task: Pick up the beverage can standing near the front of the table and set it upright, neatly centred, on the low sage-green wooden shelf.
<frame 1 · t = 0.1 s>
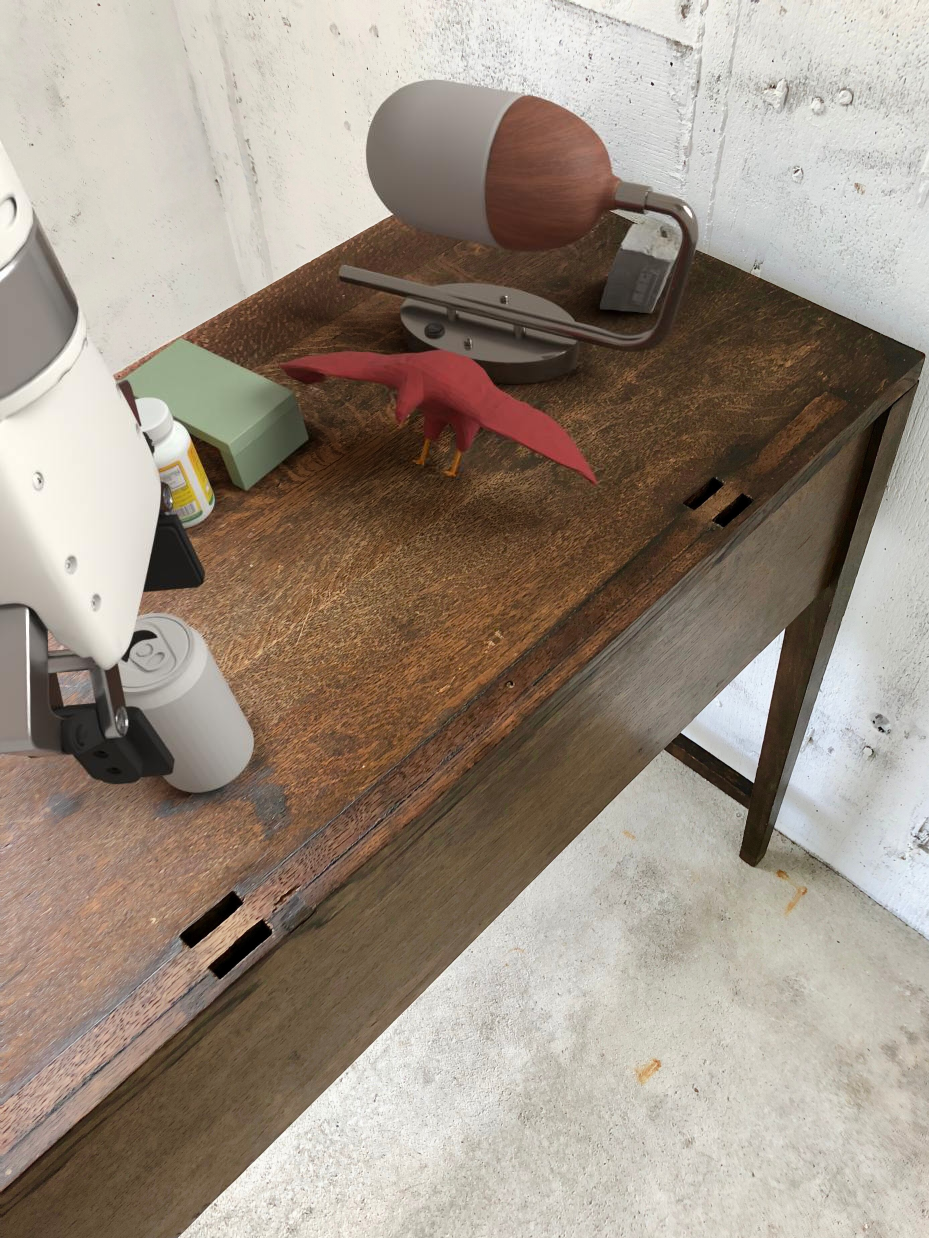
hand: (155, 671, 40), 22 cm above the table, tool pointing down, fingers open, 9 cm apart
decorative bird sculpture: (455, 456, 80), on the table
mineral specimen: (640, 305, 90), on the table
supplement bottle: (185, 509, 78), on the table
shelf: (221, 435, 83), on the table
light fixture: (506, 348, 88), on the table
beverage can: (211, 757, 64), on the table
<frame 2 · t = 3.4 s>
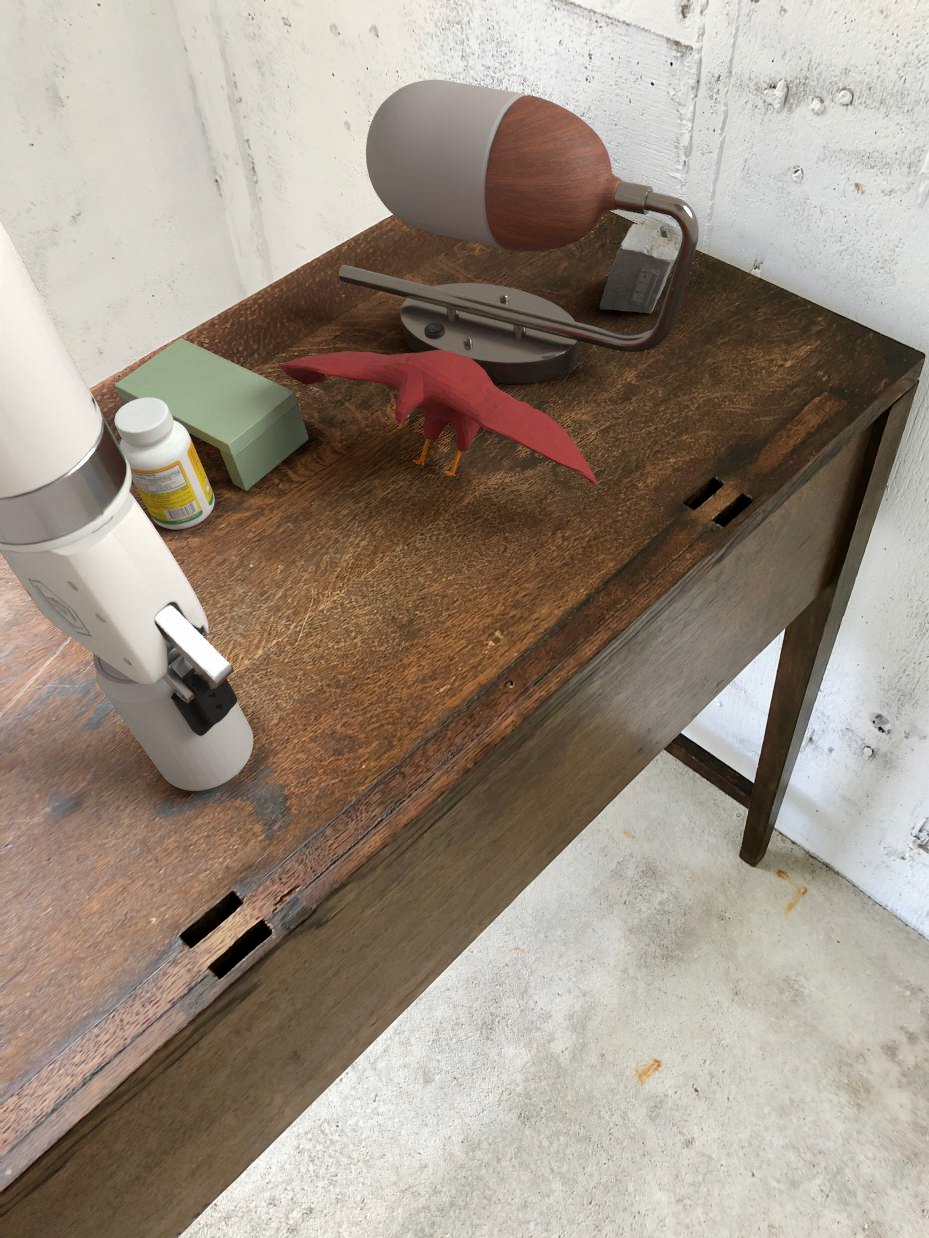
hand: (175, 688, 59), 7 cm above the table, tool pointing down, fingers closed on beverage can, 6 cm apart
beverage can: (211, 757, 64), on the table, touching gripper
everything else where it was.
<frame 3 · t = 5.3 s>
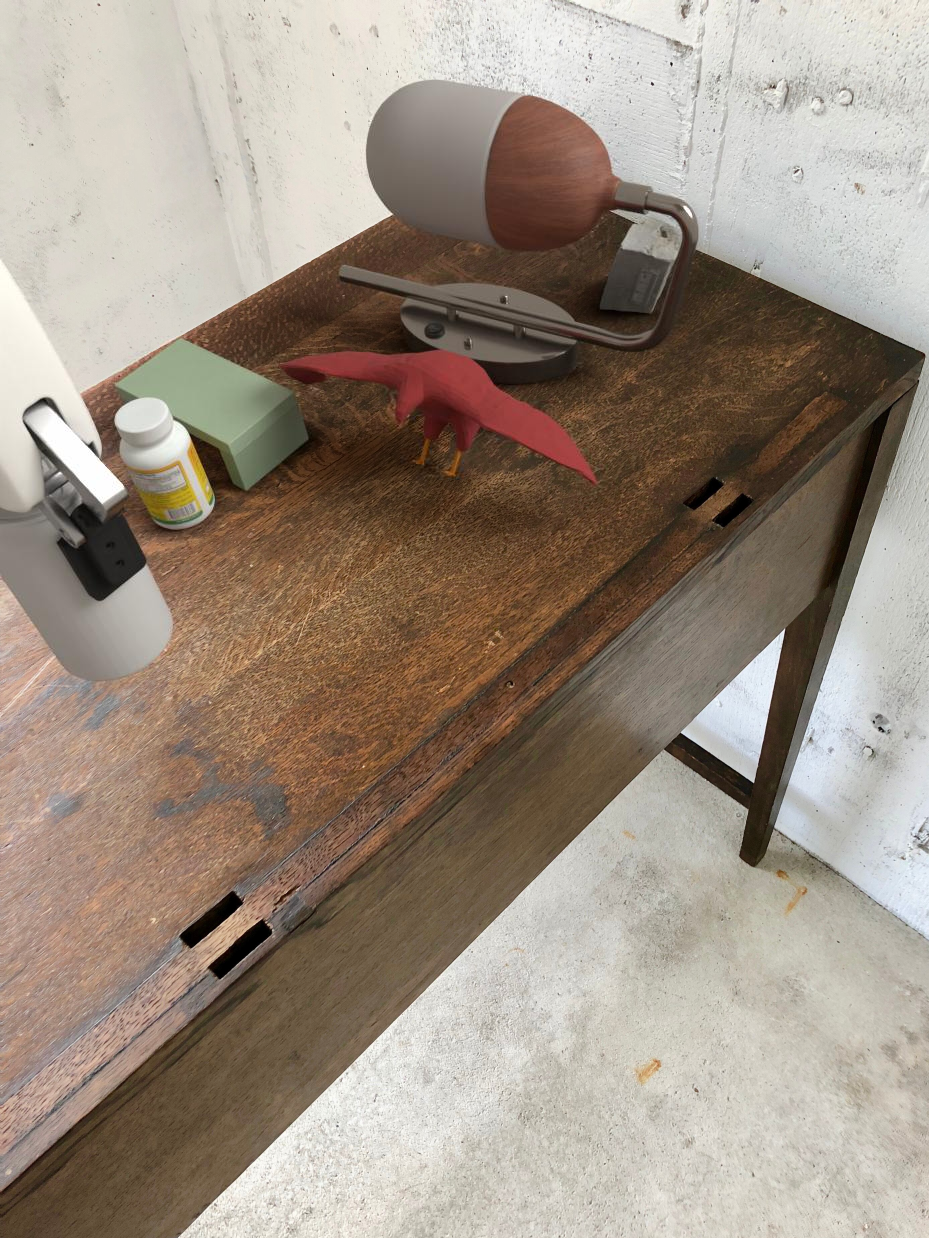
hand: (72, 548, 48), 20 cm above the table, tool pointing down, fingers closed on beverage can, 6 cm apart
beverage can: (122, 646, 54), point 13 cm above the table, touching gripper
everything else where it was.
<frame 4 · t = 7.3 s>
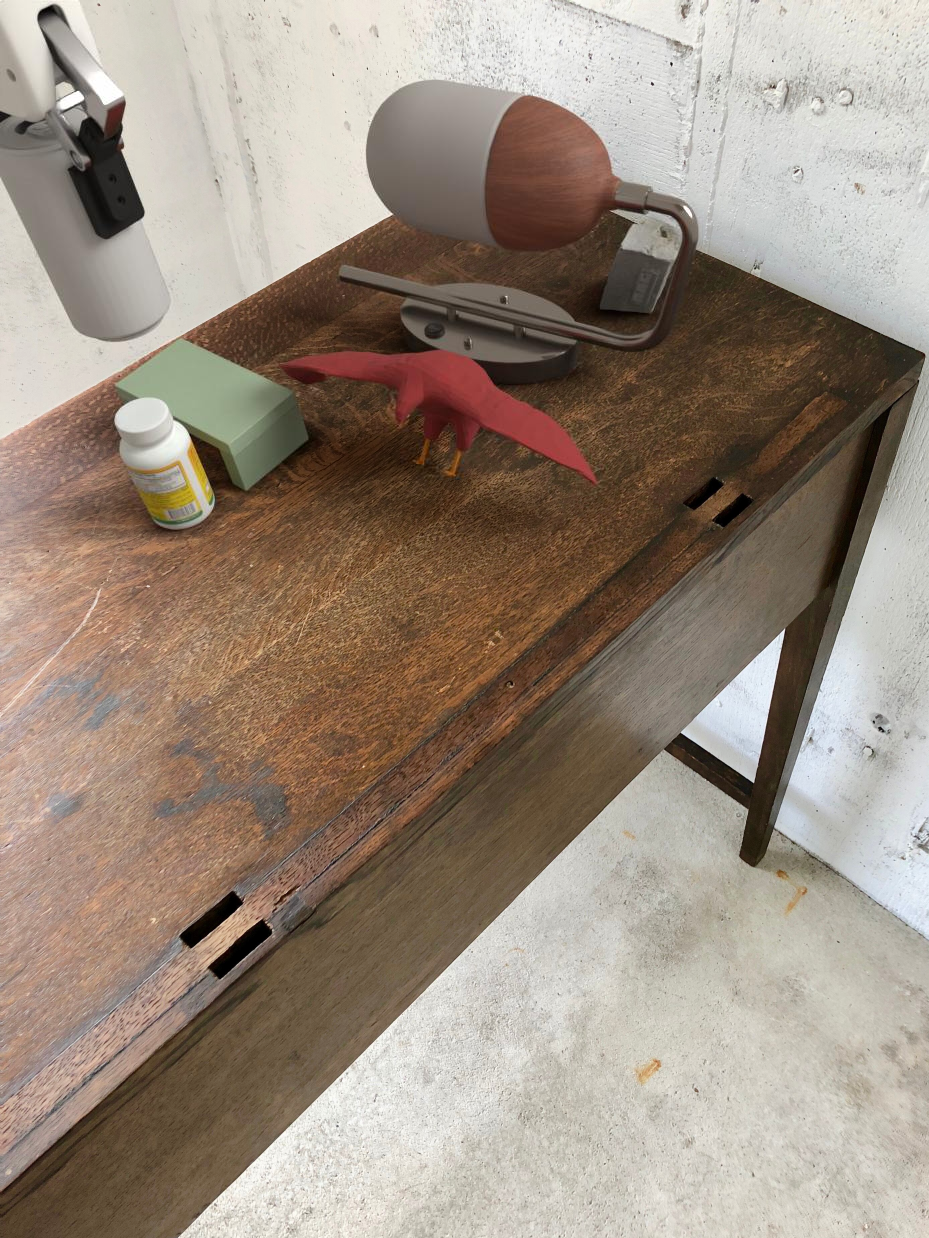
hand: (82, 207, 56), 26 cm above the table, tool pointing down, fingers closed on beverage can, 6 cm apart
beverage can: (127, 322, 62), point 18 cm above the table, touching gripper
everything else where it was.
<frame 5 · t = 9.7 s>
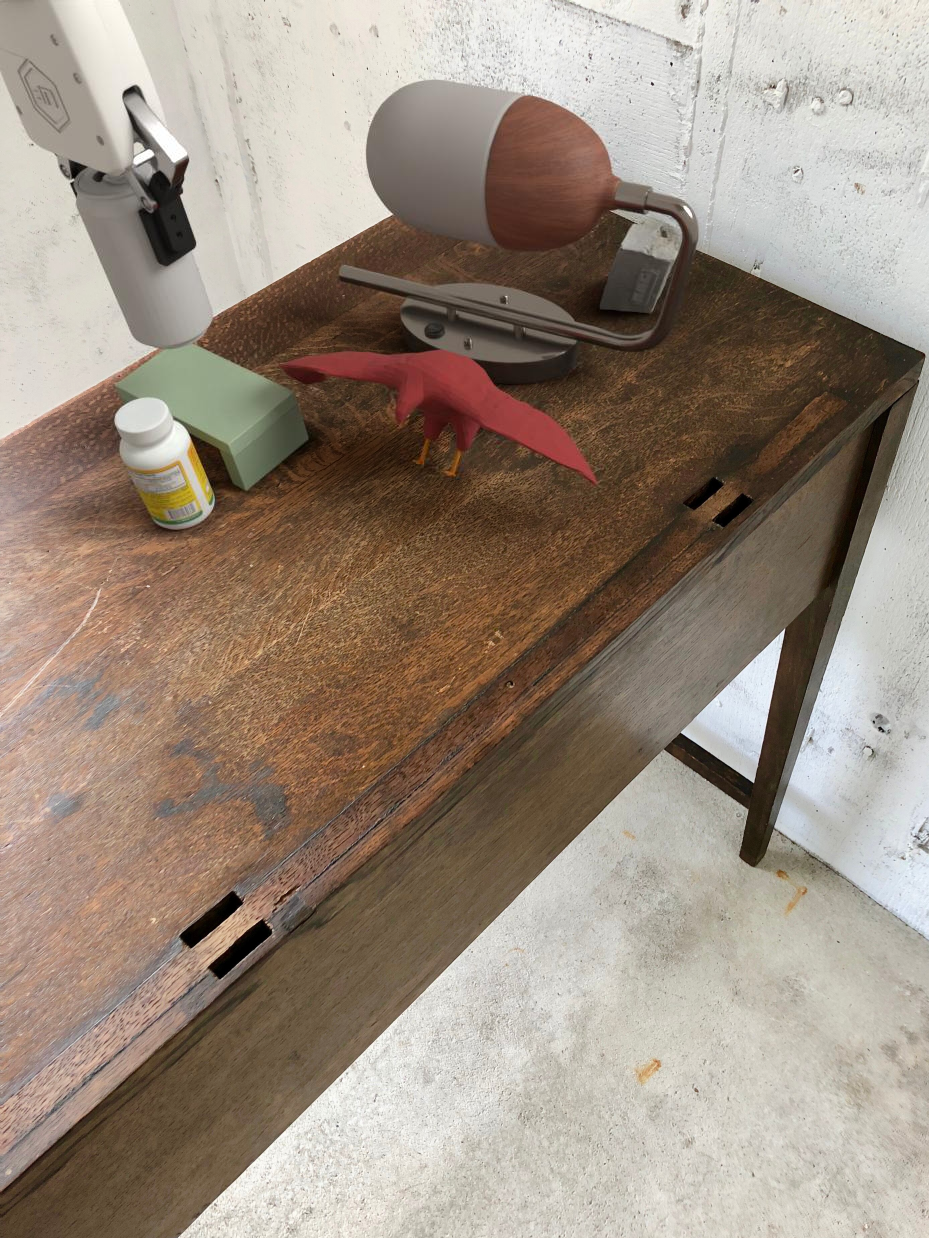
hand: (144, 239, 69), 18 cm above the table, tool pointing down, fingers closed on beverage can, 6 cm apart
beverage can: (176, 333, 74), point 11 cm above the table, touching gripper
everything else where it was.
when the fingers open (12 cm above the table, at t = 11.6 s): beverage can stays where it is, resting on shelf.
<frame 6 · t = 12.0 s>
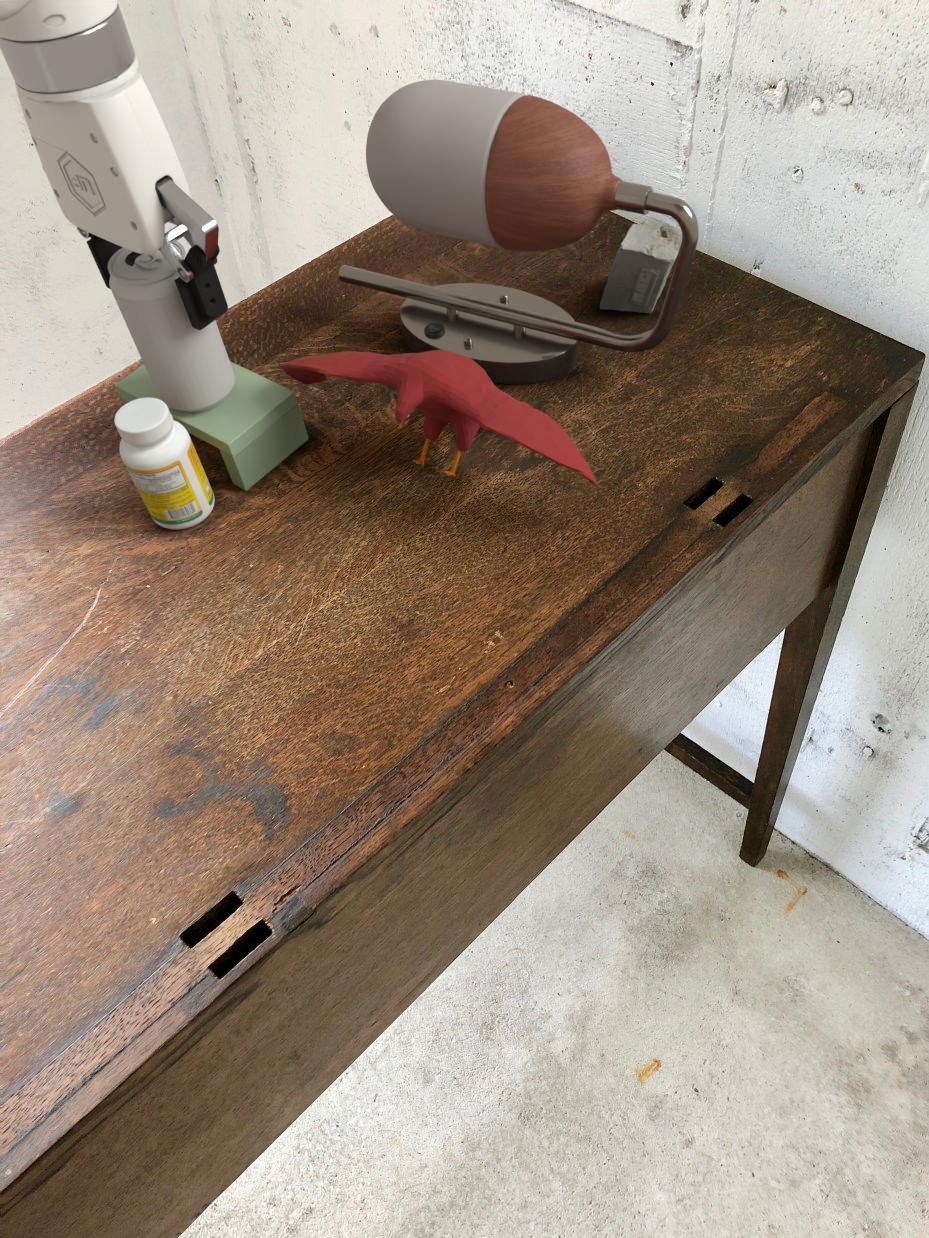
hand: (167, 299, 73), 13 cm above the table, tool pointing down, fingers open, 9 cm apart
beverage can: (200, 394, 79), point 5 cm above the table, touching shelf
everything else where it was.
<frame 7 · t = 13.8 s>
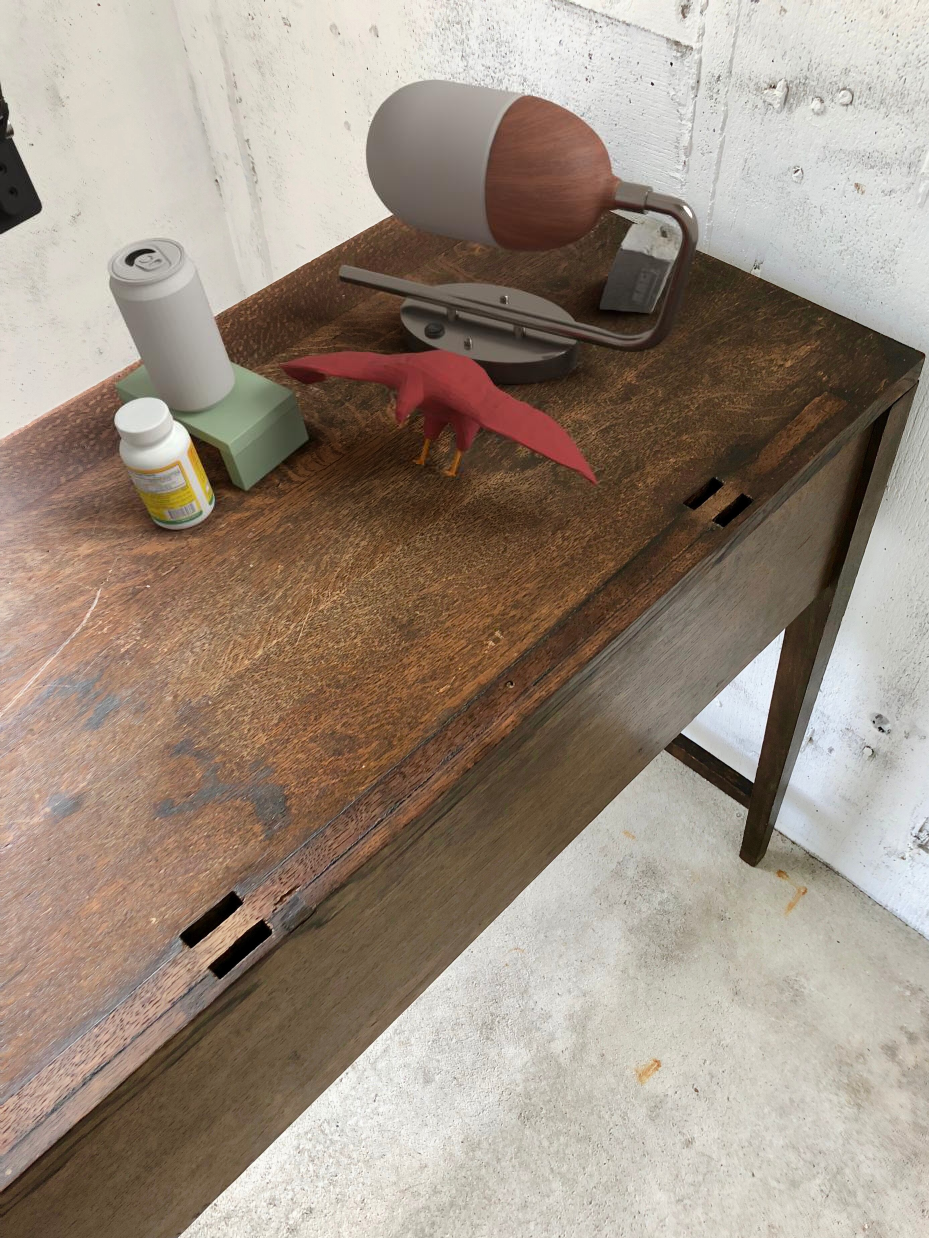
nothing on the table moved.
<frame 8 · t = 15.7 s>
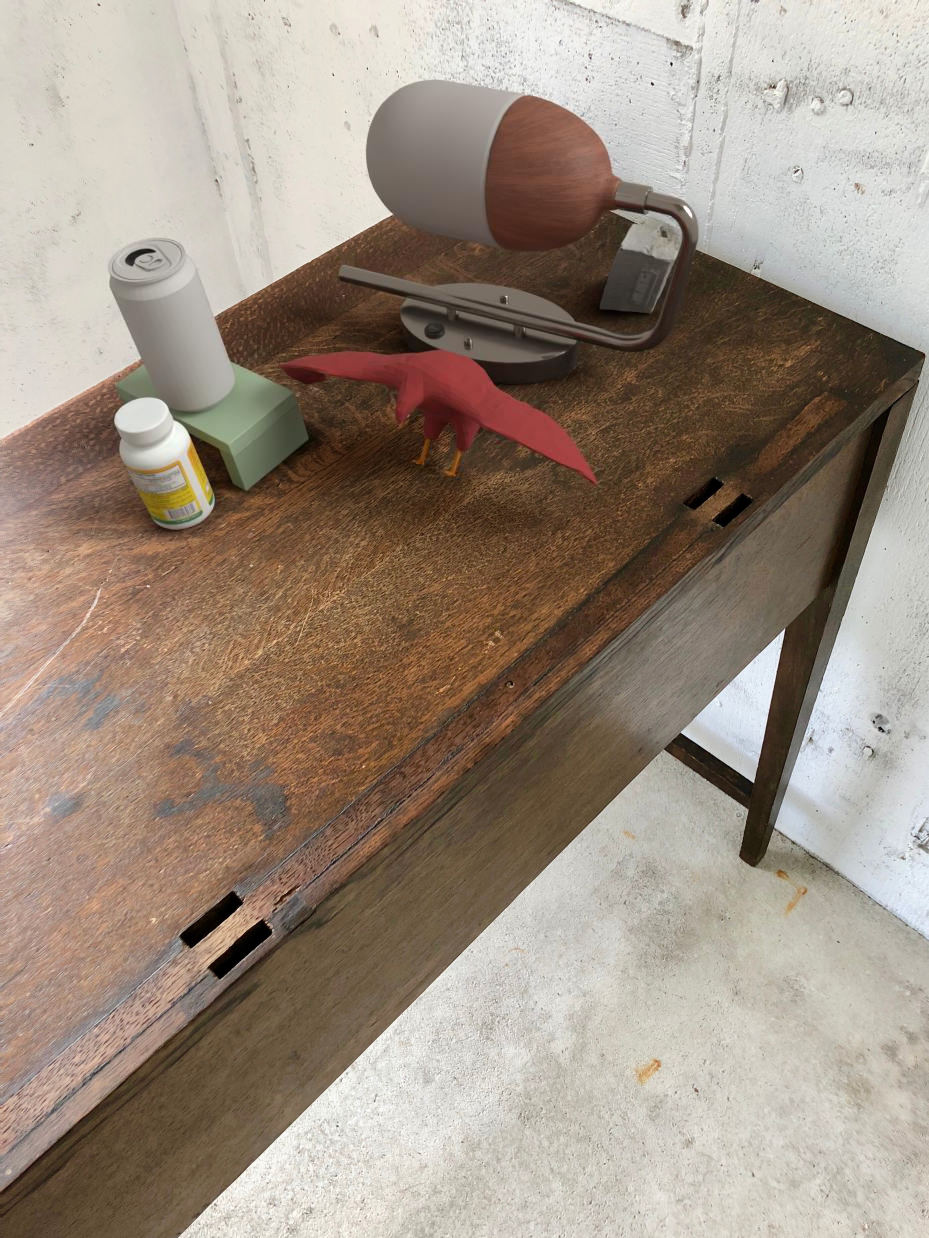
nothing on the table moved.
at the end: beverage can inside the target area on the shelf (0.6 cm from its centre), point 4.8 cm above the shelf's base; beverage can tilted 0°; the gripper is holding nothing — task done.
